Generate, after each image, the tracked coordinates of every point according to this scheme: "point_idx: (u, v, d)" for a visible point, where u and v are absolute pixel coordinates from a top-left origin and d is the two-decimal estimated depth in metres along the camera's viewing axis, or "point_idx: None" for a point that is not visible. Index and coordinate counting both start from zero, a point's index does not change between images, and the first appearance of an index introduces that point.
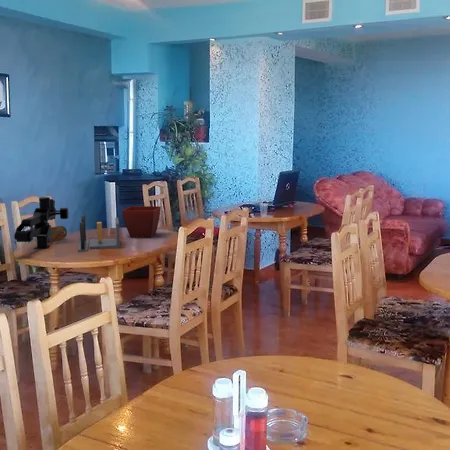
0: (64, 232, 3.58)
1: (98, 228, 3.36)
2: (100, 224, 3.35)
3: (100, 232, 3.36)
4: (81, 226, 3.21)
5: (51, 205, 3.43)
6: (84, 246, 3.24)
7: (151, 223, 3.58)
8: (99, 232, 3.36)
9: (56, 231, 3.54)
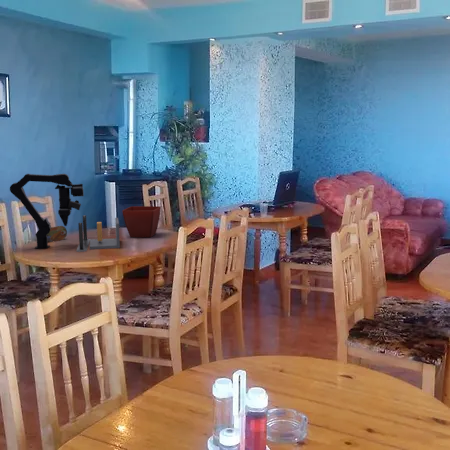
0: (64, 232, 3.58)
1: (98, 228, 3.36)
2: (100, 224, 3.35)
3: (100, 232, 3.36)
4: (80, 226, 3.21)
5: (74, 202, 3.32)
6: (83, 246, 3.24)
7: (151, 223, 3.58)
8: (99, 232, 3.36)
9: (56, 231, 3.54)
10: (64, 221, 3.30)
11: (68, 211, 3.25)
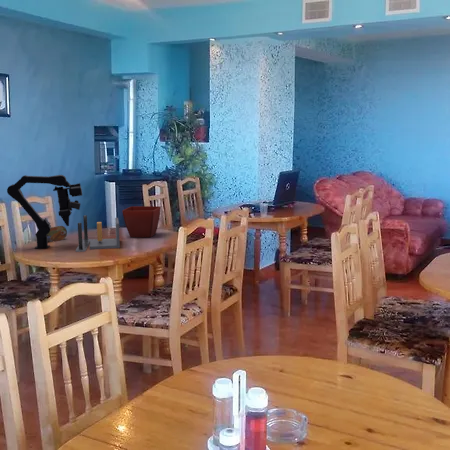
0: (64, 232, 3.58)
1: (98, 228, 3.36)
2: (100, 224, 3.35)
3: (100, 232, 3.36)
4: (79, 226, 3.21)
5: (73, 202, 3.32)
6: (82, 246, 3.24)
7: (151, 223, 3.58)
8: (99, 232, 3.36)
9: (56, 231, 3.54)
10: (66, 221, 3.33)
11: (68, 212, 3.25)
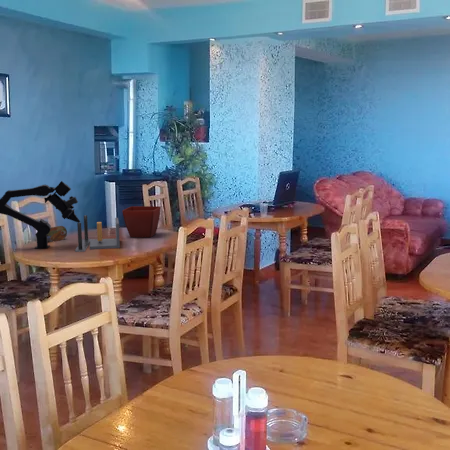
0: (64, 232, 3.58)
1: (98, 228, 3.36)
2: (100, 224, 3.35)
3: (100, 232, 3.36)
4: (78, 226, 3.21)
5: (68, 200, 3.31)
6: (82, 246, 3.24)
7: (151, 223, 3.58)
8: (99, 232, 3.36)
9: (56, 231, 3.54)
10: (75, 219, 3.34)
11: (69, 210, 3.25)
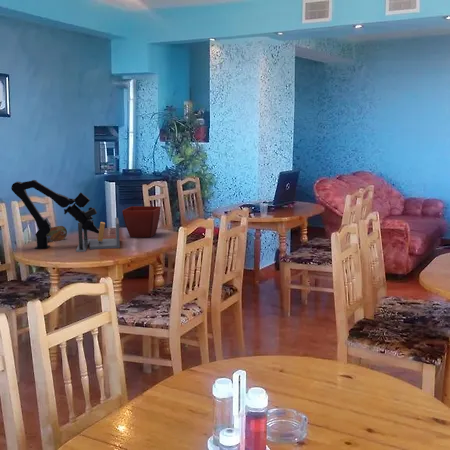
0: (64, 232, 3.58)
1: (101, 228, 3.36)
2: (103, 224, 3.36)
3: (102, 232, 3.36)
4: (79, 226, 3.21)
5: (88, 211, 3.34)
6: (82, 246, 3.24)
7: (151, 223, 3.58)
8: (100, 232, 3.36)
9: (56, 231, 3.54)
10: (94, 230, 3.37)
11: (89, 221, 3.28)
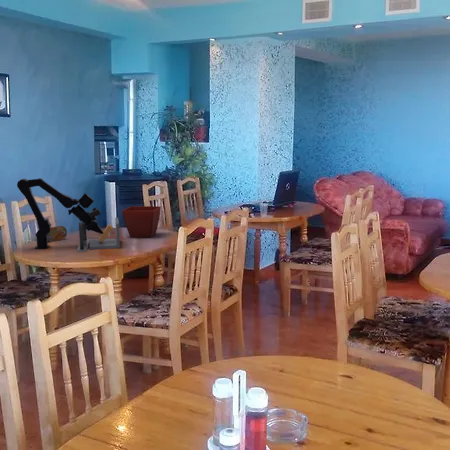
0: (64, 232, 3.58)
1: (107, 230, 3.37)
2: (111, 227, 3.37)
3: (106, 234, 3.37)
4: (80, 226, 3.21)
5: (92, 212, 3.35)
6: (83, 246, 3.24)
7: (151, 223, 3.58)
8: (105, 234, 3.37)
9: (56, 231, 3.54)
10: (98, 230, 3.37)
11: (93, 222, 3.28)
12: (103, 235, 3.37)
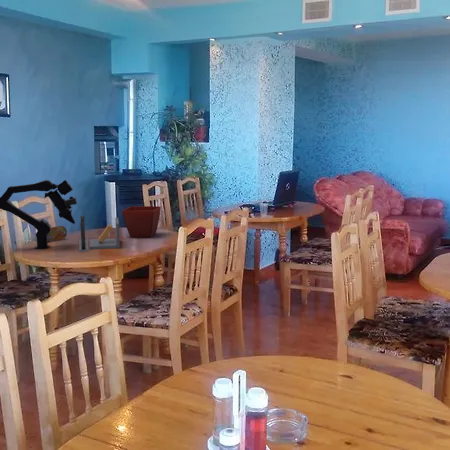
0: (64, 232, 3.58)
1: (107, 230, 3.37)
2: (111, 227, 3.37)
3: (106, 234, 3.37)
4: (82, 226, 3.22)
5: (68, 200, 3.31)
6: (85, 246, 3.24)
7: (151, 223, 3.58)
8: (105, 234, 3.37)
9: (56, 231, 3.54)
10: (71, 220, 3.33)
11: (67, 210, 3.24)
12: (103, 235, 3.37)
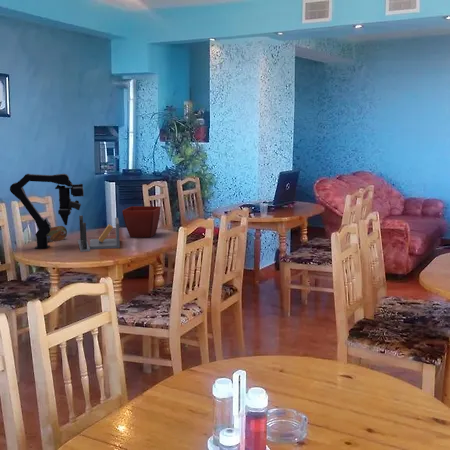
0: (64, 232, 3.58)
1: (107, 230, 3.37)
2: (111, 227, 3.37)
3: (106, 234, 3.37)
4: (83, 226, 3.22)
5: (74, 202, 3.32)
6: (86, 246, 3.24)
7: (151, 223, 3.58)
8: (105, 234, 3.37)
9: (56, 231, 3.54)
10: (65, 220, 3.33)
11: (68, 211, 3.25)
12: (103, 235, 3.37)
